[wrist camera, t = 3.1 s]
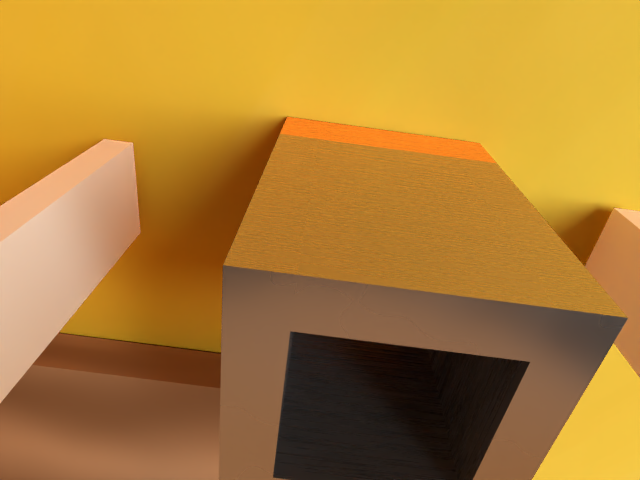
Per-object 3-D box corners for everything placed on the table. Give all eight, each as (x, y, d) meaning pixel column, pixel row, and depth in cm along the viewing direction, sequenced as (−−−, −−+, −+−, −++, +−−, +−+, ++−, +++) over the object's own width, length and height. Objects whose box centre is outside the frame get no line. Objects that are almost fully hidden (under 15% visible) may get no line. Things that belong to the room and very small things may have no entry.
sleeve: (286, 116, 12) (222, 264, 5) (479, 143, 12) (628, 318, 6) (273, 277, 14) (218, 501, 8) (431, 297, 14) (498, 535, 8)
